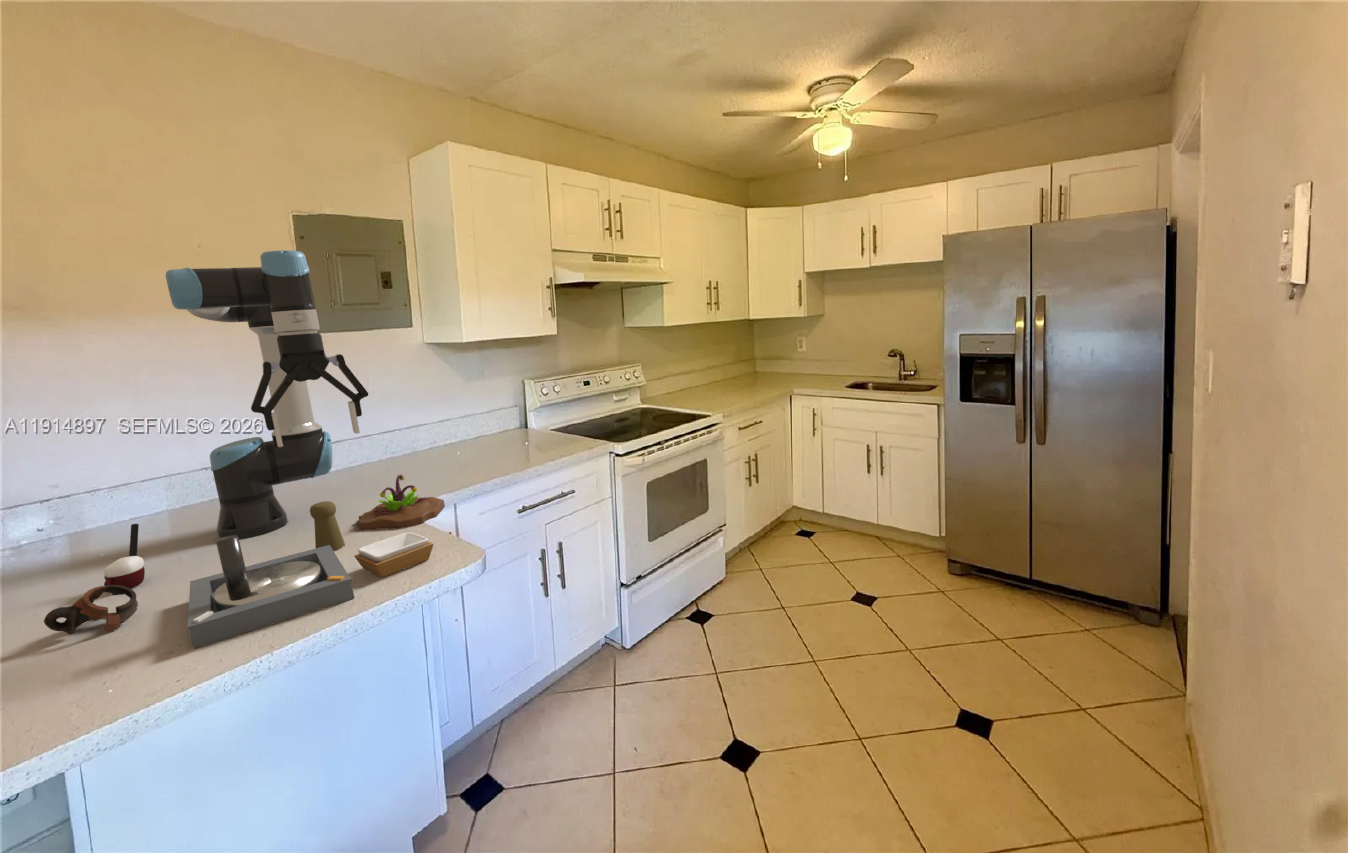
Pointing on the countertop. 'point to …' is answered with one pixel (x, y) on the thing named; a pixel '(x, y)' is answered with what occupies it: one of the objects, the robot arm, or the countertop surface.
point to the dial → (257, 576)
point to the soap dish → (394, 554)
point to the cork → (326, 525)
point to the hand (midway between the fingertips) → (319, 439)
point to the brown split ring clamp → (93, 610)
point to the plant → (400, 509)
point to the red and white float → (127, 566)
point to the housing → (265, 599)
